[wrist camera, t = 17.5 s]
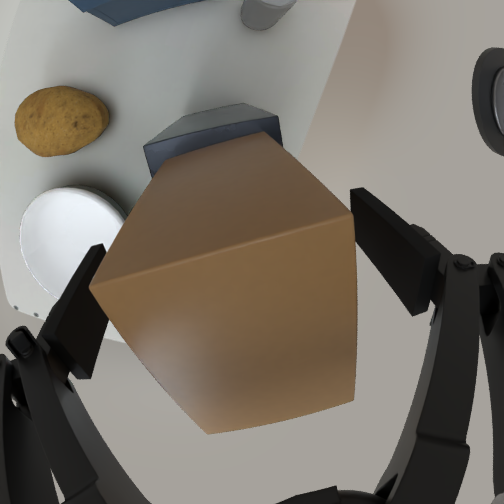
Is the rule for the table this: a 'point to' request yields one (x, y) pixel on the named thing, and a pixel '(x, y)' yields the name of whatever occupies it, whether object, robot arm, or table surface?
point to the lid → (88, 4)
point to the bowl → (66, 232)
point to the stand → (209, 131)
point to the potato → (60, 120)
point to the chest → (133, 9)
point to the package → (237, 286)
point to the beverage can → (264, 12)
